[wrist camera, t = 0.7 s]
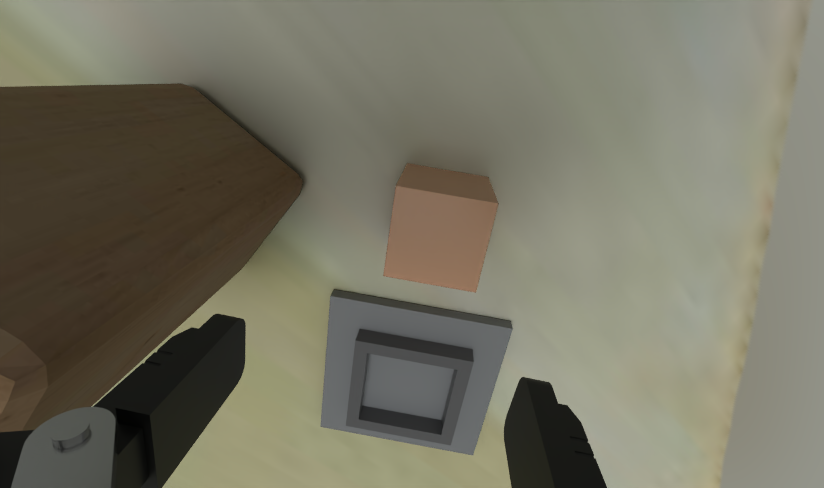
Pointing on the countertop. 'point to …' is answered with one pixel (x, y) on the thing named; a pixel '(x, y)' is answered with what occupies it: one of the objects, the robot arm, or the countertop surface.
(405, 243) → the brick
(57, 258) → the wooden block
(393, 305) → the socket board
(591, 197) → the countertop surface
